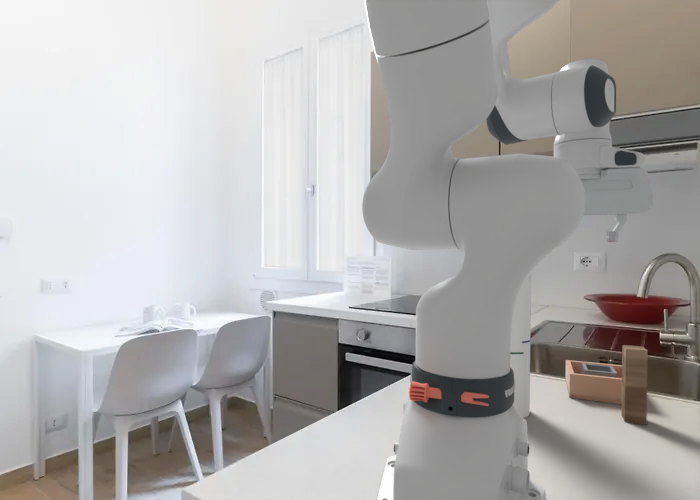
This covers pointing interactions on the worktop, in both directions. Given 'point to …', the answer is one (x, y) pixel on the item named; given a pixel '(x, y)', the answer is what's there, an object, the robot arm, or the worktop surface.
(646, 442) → the worktop surface
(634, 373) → the tall wooden post
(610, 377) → the pink planter box
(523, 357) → the cylindrical container
